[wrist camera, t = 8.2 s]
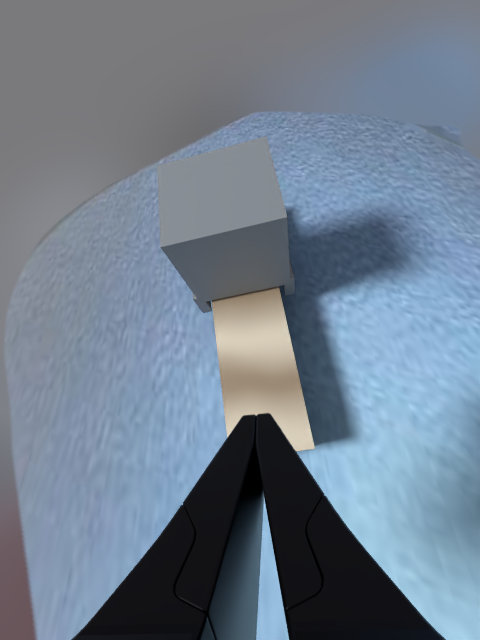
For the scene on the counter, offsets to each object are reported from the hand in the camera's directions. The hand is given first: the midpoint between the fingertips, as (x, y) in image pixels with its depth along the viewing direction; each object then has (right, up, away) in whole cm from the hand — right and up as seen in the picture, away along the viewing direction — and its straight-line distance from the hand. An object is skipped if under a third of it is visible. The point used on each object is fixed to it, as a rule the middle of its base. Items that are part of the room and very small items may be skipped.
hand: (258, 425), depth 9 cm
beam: (0, +3, +15) cm, 15 cm away
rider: (0, +7, +15) cm, 16 cm away
